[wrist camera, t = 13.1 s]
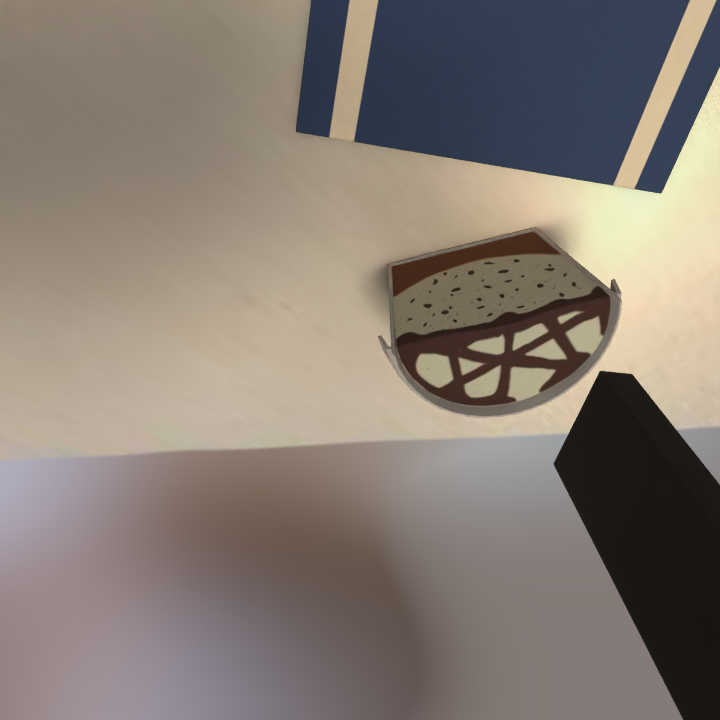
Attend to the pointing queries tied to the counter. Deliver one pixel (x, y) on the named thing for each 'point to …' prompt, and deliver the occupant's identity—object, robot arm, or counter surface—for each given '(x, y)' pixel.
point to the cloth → (515, 81)
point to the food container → (497, 324)
